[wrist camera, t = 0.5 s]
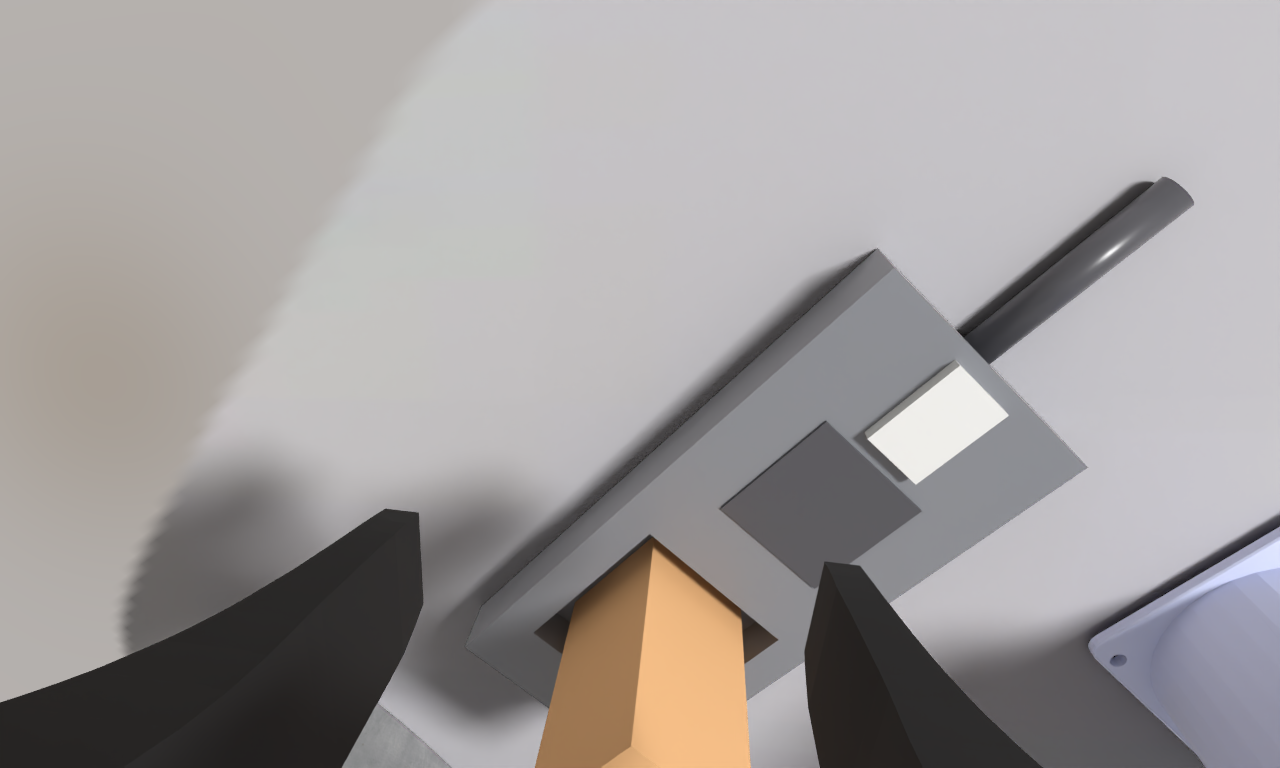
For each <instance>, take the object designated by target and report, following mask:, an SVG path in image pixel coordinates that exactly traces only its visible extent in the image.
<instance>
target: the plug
mask: <svg viewBox="0 0 1280 768" xmlns="http://www.w3.org/2000/svg"><path fill="white" fill-rule="evenodd" d="M535 768H751V766H750V750H749V734H748V717H747V701H746V685H745V668H744V652H743V636H742V620H741V609H740V608H739V607H738V606H737V605H736V604H734V603H733V602H732V601H731V600H729V599H728V598H727V597H726V596H725V595H723V594H722V593H721V592H720V591H719V590H717V589H716V588H715V587H714V586H712V585H711V584H710V583H709V582H708V581H706V580H705V579H704V578H703V577H701V576H700V575H699V574H698V573H697V572H695V571H694V570H693V569H692V568H691V567H689V566H688V565H687V564H686V563H684V562H683V561H682V560H681V559H680V558H678V557H677V556H676V555H675V554H673V553H672V552H671V551H670V550H669V549H667V548H666V547H665V546H664V545H663V544H661V543H660V542H659V541H658V540H656V539H655V538H654V537H652V538H651V539H650V540H649V541H647V542H646V543H645V544H644V545H643V546H641V547H640V548H639V549H638V550H637V551H635V552H634V553H633V554H632V555H631V556H630V557H628V558H627V559H626V560H625V561H624V562H622V563H621V564H620V565H619V566H618V567H617V568H615V569H614V570H613V571H612V572H611V573H609V574H608V575H607V576H606V577H605V578H603V579H602V580H601V581H600V582H599V583H598V584H596V585H595V586H594V587H593V588H592V589H590V590H589V591H588V592H587V593H586V594H585V595H583V596H582V597H581V598H580V599H579V600H577V601H576V602H575V604H574V608H573V612H572V617H571V621H570V625H569V629H568V633H567V637H566V641H565V645H564V650H563V654H562V658H561V662H560V666H559V670H558V674H557V678H556V683H555V687H554V691H553V695H552V699H551V703H550V707H549V711H548V716H547V720H546V724H545V728H544V732H543V736H542V740H541V744H540V749H539V753H538V757H537V761H536V765H535Z"/></svg>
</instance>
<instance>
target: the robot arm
mask: <svg viewBox="0 0 1280 768" xmlns="http://www.w3.org/2000/svg"><path fill="white" fill-rule="evenodd" d="M422 606H423V587H422V568H421V549H420V530H419V513H417V512H408V511H400V510H391V509H384V510H383V511H381V512H379V513H378V514H376V515H375V516H373V517H372V518H370V519H369V520H367V521H366V522H364V523H363V524H361V525H360V526H358V527H357V528H355V529H354V530H352V531H351V532H349V533H348V534H346V535H345V536H343V537H342V538H340V539H339V540H337V541H336V542H335V543H333V544H332V545H330V546H329V547H327V548H325V549H324V550H322V551H321V552H319V553H318V554H316V555H315V556H313V557H312V558H310V559H309V560H307V561H306V562H304V563H303V564H301V565H300V566H298V567H297V568H295V569H293V570H292V571H290V572H289V573H287V574H285V575H284V576H282V577H280V578H279V579H277V580H275V581H274V582H272V583H270V584H268V585H267V586H265V587H263V588H262V589H260V590H258V591H257V592H255V593H253V594H252V595H250V596H248V597H247V598H245V599H243V600H242V601H240V602H238V603H236V604H235V605H233V606H231V607H229V608H227V609H226V610H224V611H222V612H220V613H218V614H216V615H214V616H212V617H210V618H208V619H206V620H204V621H202V622H200V623H198V624H196V625H194V626H192V627H190V628H188V629H186V630H184V631H182V632H180V633H178V634H176V635H174V636H172V637H170V638H168V639H165V640H163V641H161V642H159V643H156V644H154V645H151V646H149V647H147V648H144V649H142V650H140V651H137V652H135V653H133V654H130V655H128V656H126V657H123V658H121V659H119V660H116V661H114V662H112V663H109V664H107V665H105V666H102V667H100V668H97V669H95V670H92V671H89V672H87V673H84V674H81V675H79V676H76V677H73V678H71V679H68V680H65V681H63V682H60V683H57V684H54V685H51V686H48V687H46V688H43V689H40V690H37V691H34V692H31V693H28V694H25V695H22V696H19V697H16V698H13V699H10V700H7V701H4V702H1V703H0V768H342V766H343V765H344V763H345V761H346V759H347V757H348V756H349V754H350V752H351V750H352V748H353V746H354V745H355V743H356V741H357V739H358V737H359V736H360V734H361V732H362V730H363V728H364V726H365V725H366V723H367V721H368V719H369V717H370V716H371V714H372V712H373V710H374V708H375V706H376V705H377V703H378V701H379V699H380V697H381V696H382V694H383V692H384V690H385V688H386V686H387V685H388V683H389V681H390V679H391V677H392V675H393V673H394V672H395V670H396V668H397V666H398V664H399V662H400V660H401V658H402V656H403V655H404V652H405V650H406V647H407V645H408V642H409V640H410V637H411V635H412V632H413V630H414V627H415V624H416V622H417V619H418V616H419V614H420V611H421V608H422ZM1088 649H1089V650H1090V652H1091V653H1092V655H1093V656H1094V658H1095V659H1096V660H1097V661H1098V662H1099V663H1100V664H1101V665H1102V666H1103V667H1104V668H1105V669H1106V670H1107V671H1108V672H1110V673H1111V674H1112V675H1113V676H1114V677H1115V678H1116V679H1117V680H1118V681H1119V682H1120V683H1121V684H1122V685H1123V686H1124V687H1125V688H1127V689H1128V690H1129V691H1130V692H1131V693H1132V694H1133V695H1134V696H1135V697H1136V698H1137V699H1138V700H1139V701H1140V702H1141V703H1142V704H1143V705H1145V706H1146V707H1147V708H1148V709H1149V710H1150V711H1151V712H1152V713H1153V714H1154V715H1155V716H1156V717H1157V718H1158V719H1159V720H1160V721H1162V722H1163V723H1164V724H1165V725H1166V726H1167V727H1168V728H1169V729H1170V730H1171V731H1172V732H1173V733H1174V734H1175V735H1176V736H1177V737H1178V738H1180V739H1181V740H1182V741H1183V742H1184V743H1185V744H1186V745H1187V746H1188V747H1189V748H1190V749H1191V750H1192V751H1193V752H1194V753H1195V754H1197V756H1198V757H1199V759H1200V760H1201V761H1202V763H1203V764H1204V766H1205V767H1206V768H1280V527H1278V528H1277V529H1275V530H1273V531H1271V532H1270V533H1268V534H1266V535H1265V536H1263V537H1261V538H1260V539H1258V540H1256V541H1255V542H1253V543H1251V544H1249V545H1248V546H1246V547H1244V548H1243V549H1241V550H1239V551H1238V552H1236V553H1234V554H1233V555H1231V556H1229V557H1228V558H1226V559H1224V560H1222V561H1221V562H1219V563H1217V564H1216V565H1214V566H1212V567H1211V568H1209V569H1207V570H1206V571H1204V572H1202V573H1200V574H1199V575H1197V576H1195V577H1194V578H1192V579H1190V580H1189V581H1187V582H1185V583H1184V584H1182V585H1180V586H1178V587H1177V588H1175V589H1173V590H1172V591H1170V592H1168V593H1167V594H1165V595H1163V596H1162V597H1160V598H1158V599H1157V600H1155V601H1153V602H1151V603H1150V604H1148V605H1146V606H1145V607H1143V608H1141V609H1140V610H1138V611H1136V612H1135V613H1133V614H1131V615H1129V616H1128V617H1126V618H1124V619H1123V620H1121V621H1119V622H1118V623H1116V624H1114V625H1113V626H1111V627H1109V628H1107V629H1106V630H1104V631H1102V632H1101V633H1099V634H1097V635H1096V636H1094V637H1093V638H1092V639H1091V640H1090V642H1089V644H1088ZM1115 655H1118V656H1117V657H1114V658H1112V657H1113V656H1115ZM804 656H805V671H806V685H807V697H808V708H809V713H810V719H811V724H812V729H813V734H814V739H815V744H816V750H817V755H818V760H819V765H820V768H1043V767H1041V766H1040V765H1039V764H1038V763H1037V762H1036V761H1035V760H1033V759H1032V758H1031V757H1030V756H1029V755H1028V754H1027V753H1025V752H1024V751H1023V750H1022V749H1021V748H1020V747H1019V746H1018V745H1017V744H1016V743H1015V742H1013V741H1012V740H1011V739H1010V738H1009V737H1008V736H1007V735H1006V734H1005V733H1004V732H1003V731H1002V730H1001V729H1000V728H999V727H998V726H996V725H995V724H994V723H993V722H992V721H991V720H990V719H989V718H988V717H987V716H986V715H985V714H984V713H983V712H982V711H981V710H980V709H979V708H978V707H977V706H976V705H975V704H974V703H973V702H972V701H971V700H970V699H969V698H968V697H967V695H966V694H965V693H964V692H963V691H962V690H961V689H960V688H959V687H958V686H957V685H956V684H955V682H954V681H953V680H952V679H951V678H950V677H949V676H948V675H947V674H946V673H945V672H944V670H943V669H942V668H941V667H940V666H939V665H938V664H937V662H936V661H935V660H934V659H933V658H932V657H931V655H930V654H929V653H928V652H927V651H926V649H925V648H924V647H923V646H922V645H921V643H920V642H919V641H918V640H917V639H916V637H915V636H914V635H913V634H912V632H911V631H910V630H909V629H908V627H907V626H906V625H905V624H904V622H903V621H902V620H901V618H900V617H899V616H898V615H897V613H896V612H895V611H894V609H893V608H892V607H891V605H890V604H889V603H888V602H887V600H886V599H885V598H884V596H883V595H882V594H881V592H880V591H879V590H878V588H877V587H876V586H875V584H874V583H873V582H872V580H871V579H870V578H869V577H868V575H867V574H866V573H865V571H864V570H863V569H862V567H861V566H859V565H851V564H843V563H834V562H826V561H825V562H824V566H823V570H822V575H821V579H820V584H819V588H818V593H817V597H816V601H815V606H814V610H813V615H812V619H811V623H810V628H809V632H808V637H807V641H806V646H805V650H804Z"/></svg>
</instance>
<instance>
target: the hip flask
mask: <svg viewBox="0 0 1280 768" xmlns="http://www.w3.org/2000/svg"><path fill="white" fill-rule="evenodd" d="M342 768H451V767H450V766H449V765H448V764H447V763H446V762H445V761H444V760H442V759H441V758H440V757H439V756H438V755H437V754H436V753H435V752H434V751H433V750H432V749H431V748H429V747H428V746H427V745H426V744H425V743H424V742H423V741H422V740H421V739H420V738H418V737H417V736H416V735H415V734H414V733H413V732H411V731H410V730H409V729H408V728H407V727H406V726H405V725H403V724H402V723H401V722H400V721H399V720H397V719H396V718H395V717H394V716H392V715H391V714H390V713H389V712H387V711H386V710H385V709H384V708H383V707H381V706H380V705H379V704H378V703H377V705H376V706H375V708H374V710H373V712H372V714H371V716H370V717H369V719H368V721H367V723H366V725H365V726H364V728H363V730H362V732H361V734H360V736H359V737H358V739H357V741H356V743H355V745H354V746H353V748H352V750H351V752H350V754H349V756H348V757H347V759H346V761H345V763H344V765H343V766H342Z"/></svg>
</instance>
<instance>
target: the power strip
mask: <svg viewBox="0 0 1280 768" xmlns="http://www.w3.org/2000/svg"><path fill="white" fill-rule="evenodd" d="M1193 205H1194V201H1193V199H1192V198H1191V196H1190V195H1189V194H1188V193H1187V191H1186V190H1185V189H1183V188H1182V187H1181V186H1180V185H1179V184H1177V183H1176V182H1175V181H1173V180H1171V179H1169V178H1167V177H1162V178H1161V179H1159V180H1158V181H1157V182H1156V183H1154V184H1153V185H1152V186H1151V187H1149V188H1148V189H1147V190H1146V191H1145V192H1143V193H1142V194H1141V195H1140V196H1138V197H1137V198H1136V199H1135V200H1133V201H1132V202H1131V203H1130V204H1128V205H1127V206H1126V207H1125V208H1123V209H1122V210H1121V211H1120V212H1119V213H1117V214H1116V215H1115V216H1114V217H1112V218H1111V219H1110V220H1109V221H1107V222H1106V223H1105V224H1104V225H1102V226H1101V227H1100V228H1099V229H1097V230H1096V231H1095V232H1094V233H1093V234H1091V235H1090V236H1089V237H1088V238H1086V239H1085V240H1084V241H1083V242H1081V243H1080V244H1079V245H1078V246H1076V247H1075V248H1074V249H1073V250H1071V251H1070V252H1069V253H1068V254H1067V255H1065V256H1064V257H1063V258H1062V259H1060V260H1059V261H1058V262H1057V263H1055V264H1054V265H1053V266H1052V267H1050V268H1049V269H1048V270H1047V271H1045V272H1044V273H1043V274H1042V275H1041V276H1039V277H1038V278H1037V279H1036V280H1034V281H1033V282H1032V283H1031V284H1029V285H1028V286H1027V287H1026V288H1024V289H1023V290H1022V291H1021V292H1019V293H1018V294H1017V295H1016V296H1015V297H1013V298H1012V299H1011V300H1010V301H1008V302H1007V303H1006V304H1005V305H1003V306H1002V307H1001V308H1000V309H998V310H997V311H996V312H995V313H993V314H992V315H991V316H990V317H989V318H987V319H986V320H985V321H984V322H982V323H981V324H980V325H979V326H977V327H976V328H975V329H974V330H972V331H971V332H970V333H969V334H967V335H966V336H965V337H963V336H962V335H961V334H960V333H959V332H958V331H957V330H956V329H955V328H954V327H953V326H952V325H951V324H950V323H949V322H948V321H947V320H946V319H945V318H944V317H943V316H942V315H941V314H940V313H939V311H938V310H937V309H936V308H935V307H934V306H933V305H932V304H931V303H930V302H929V301H928V300H927V299H926V298H925V297H924V296H923V295H922V294H921V293H920V292H919V291H918V290H917V289H916V288H915V287H914V286H913V285H912V283H911V282H910V281H909V280H908V279H907V278H906V277H905V276H904V275H903V274H902V273H901V272H900V271H899V270H898V269H897V268H896V267H895V266H894V265H893V264H892V263H891V262H890V261H889V260H888V259H887V258H886V257H885V256H884V254H883V253H882V252H881V251H880V250H879V249H878V248H877V249H876V250H875V251H874V252H873V253H872V254H871V255H870V256H868V257H867V258H866V259H865V260H864V261H863V262H862V263H861V264H860V265H858V266H857V267H856V268H855V269H854V270H853V271H852V272H851V273H850V274H849V275H847V276H846V277H845V278H844V279H843V280H842V281H841V282H840V283H839V284H837V285H836V286H835V287H834V288H833V289H832V290H831V291H830V292H829V293H827V294H826V295H825V296H824V297H823V298H822V299H821V300H820V301H819V302H818V303H816V304H815V305H814V306H813V307H812V308H811V309H810V310H809V311H808V312H806V313H805V314H804V315H803V316H802V317H801V318H800V319H799V320H798V321H797V322H795V323H794V324H793V325H792V326H791V327H790V328H789V329H788V330H787V331H785V332H784V333H783V334H782V335H781V336H780V337H779V338H778V339H777V340H775V341H774V342H773V343H772V344H771V345H770V346H769V347H768V348H767V349H766V350H764V351H763V352H762V353H761V354H760V355H759V356H758V357H757V358H756V359H754V360H753V361H752V362H751V363H750V364H749V365H748V366H747V367H746V368H745V369H743V370H742V371H741V372H740V373H739V374H738V375H737V376H736V377H735V378H733V379H732V380H731V381H730V382H729V383H728V384H727V385H726V386H725V387H724V388H722V389H721V390H720V391H719V392H718V393H717V394H716V395H715V396H714V397H712V398H711V399H710V400H709V401H708V402H707V403H706V404H705V405H704V406H702V407H701V408H700V409H699V410H698V411H697V412H696V413H695V414H694V415H693V416H691V417H690V418H689V419H688V420H687V421H686V422H685V423H684V424H683V425H681V426H680V427H679V428H678V429H677V430H676V431H675V432H674V433H673V434H672V435H670V436H669V437H668V438H667V439H666V440H665V441H664V442H663V443H662V444H660V445H659V446H658V447H657V448H656V449H655V450H654V451H653V452H652V453H650V454H649V455H648V456H647V457H646V458H645V459H644V460H643V461H642V462H641V463H639V464H638V465H637V466H636V467H635V468H634V469H633V470H632V471H631V472H629V473H628V474H627V475H626V476H625V477H624V478H623V479H622V480H621V481H620V482H618V483H617V484H616V485H615V486H614V487H613V488H612V489H611V490H610V491H608V492H607V493H606V494H605V495H604V496H603V497H602V498H601V499H600V500H598V501H597V502H596V503H595V504H594V505H593V506H592V507H591V508H590V509H589V510H587V511H586V512H585V513H584V514H583V515H582V516H581V517H580V518H579V519H577V520H576V521H575V522H574V523H573V524H572V525H571V526H570V527H569V528H568V529H566V530H565V531H564V532H563V533H562V534H561V535H560V536H559V537H558V538H556V539H555V540H554V541H553V542H552V543H551V544H550V545H549V546H548V547H547V548H545V549H544V550H543V551H542V552H541V553H540V554H539V555H538V556H537V557H535V558H534V559H533V560H532V561H531V562H530V563H529V564H528V565H527V566H525V567H524V568H523V569H522V570H521V571H520V572H519V573H518V574H517V575H516V576H514V577H513V578H512V579H511V580H510V581H509V582H508V583H507V584H506V585H504V586H503V587H502V588H501V589H500V590H499V591H498V592H497V593H496V594H495V595H493V596H492V597H491V598H490V599H489V600H488V601H487V602H486V603H485V604H483V605H482V606H481V608H480V611H479V613H478V616H477V618H476V621H475V623H474V625H473V628H472V630H471V633H470V635H469V638H468V640H467V642H466V645H465V648H466V649H468V650H469V651H470V652H472V653H473V654H475V655H476V656H477V657H479V658H480V659H481V660H483V661H484V662H486V663H487V664H488V665H490V666H491V667H493V668H494V669H495V670H497V671H498V672H499V673H501V674H502V675H504V676H505V677H506V678H508V679H509V680H511V681H512V682H513V683H515V684H516V685H518V686H519V687H520V688H522V689H523V690H524V691H526V692H527V693H529V694H530V695H531V696H533V697H534V698H536V699H537V700H538V701H540V702H541V703H543V704H544V705H545V706H547V707H548V708H549V707H550V703H551V699H552V695H553V691H554V687H555V683H556V678H557V674H558V670H559V666H560V662H561V658H562V654H563V650H564V645H565V641H566V637H567V633H568V629H569V625H570V621H571V617H572V612H573V608H574V604H575V602H576V601H577V600H579V599H580V598H581V597H582V596H583V595H585V594H586V593H587V592H588V591H589V590H590V589H592V588H593V587H594V586H595V585H596V584H598V583H599V582H600V581H601V580H602V579H603V578H605V577H606V576H607V575H608V574H609V573H611V572H612V571H613V570H614V569H615V568H617V567H618V566H619V565H620V564H621V563H622V562H624V561H625V560H626V559H627V558H628V557H630V556H631V555H632V554H633V553H634V552H635V551H637V550H638V549H639V548H640V547H641V546H643V545H644V544H645V543H646V542H647V541H649V540H650V539H651V538H652V537H654V538H655V539H656V540H658V541H659V542H660V543H661V544H663V545H664V546H665V547H666V548H667V549H669V550H670V551H671V552H672V553H673V554H675V555H676V556H677V557H678V558H680V559H681V560H682V561H683V562H684V563H686V564H687V565H688V566H689V567H691V568H692V569H693V570H694V571H695V572H697V573H698V574H699V575H700V576H701V577H703V578H704V579H705V580H706V581H708V582H709V583H710V584H711V585H712V586H714V587H715V588H716V589H717V590H719V591H720V592H721V593H722V594H723V595H725V596H726V597H727V598H728V599H729V600H731V601H732V602H733V603H734V604H736V605H737V606H738V607H739V608H740V609H741V620H742V636H743V652H744V668H745V685H746V701H747V700H749V699H750V698H752V697H753V696H754V695H756V694H757V693H759V692H760V691H762V690H763V689H765V688H766V687H768V686H769V685H771V684H772V683H773V682H775V681H776V680H778V679H779V678H781V677H782V676H784V675H785V674H787V673H788V672H790V671H791V670H792V669H794V668H795V667H797V666H798V665H800V664H801V663H803V662H804V661H805V656H804V650H805V646H806V641H807V637H808V632H809V628H810V623H811V619H812V615H813V610H814V606H815V601H816V597H817V593H818V588H819V584H820V579H821V575H822V570H823V566H824V562H825V561H826V562H834V563H843V564H851V565H859V566H861V567H862V569H863V570H864V571H865V573H866V574H867V575H868V577H869V578H870V579H871V580H872V582H873V583H874V584H875V586H876V587H877V588H878V590H879V591H880V592H881V594H882V595H883V596H884V598H885V599H886V600H887V602H888V603H890V602H892V601H893V600H895V599H896V598H898V597H899V596H901V595H902V594H904V593H905V592H906V591H908V590H909V589H911V588H912V587H914V586H915V585H917V584H918V583H920V582H921V581H923V580H924V579H925V578H927V577H928V576H930V575H931V574H933V573H934V572H936V571H937V570H939V569H940V568H942V567H943V566H944V565H946V564H947V563H949V562H950V561H952V560H953V559H955V558H956V557H958V556H959V555H961V554H962V553H963V552H965V551H966V550H968V549H969V548H971V547H972V546H974V545H975V544H977V543H978V542H980V541H981V540H982V539H984V538H985V537H987V536H988V535H990V534H991V533H993V532H994V531H996V530H997V529H999V528H1000V527H1001V526H1003V525H1004V524H1006V523H1007V522H1009V521H1010V520H1012V519H1013V518H1015V517H1016V516H1018V515H1019V514H1020V513H1022V512H1023V511H1025V510H1026V509H1028V508H1029V507H1031V506H1032V505H1034V504H1035V503H1037V502H1038V501H1039V500H1041V499H1042V498H1044V497H1045V496H1047V495H1048V494H1050V493H1051V492H1053V491H1054V490H1056V489H1057V488H1058V487H1060V486H1061V485H1063V484H1064V483H1066V482H1067V481H1069V480H1070V479H1072V478H1073V477H1075V476H1076V475H1077V474H1079V473H1080V472H1082V471H1083V470H1085V469H1086V468H1088V467H1087V466H1086V465H1085V464H1084V463H1083V462H1082V461H1081V460H1080V458H1079V457H1078V456H1077V455H1076V454H1075V453H1074V452H1073V451H1072V450H1071V449H1070V448H1069V447H1068V446H1067V445H1066V443H1065V442H1064V441H1063V440H1062V439H1061V438H1060V437H1059V436H1058V435H1057V434H1056V433H1055V432H1054V431H1053V430H1052V429H1051V428H1050V426H1049V425H1048V424H1047V423H1046V422H1045V421H1044V420H1043V419H1042V418H1041V417H1040V416H1039V415H1038V414H1037V413H1036V412H1035V411H1034V410H1033V409H1032V408H1031V407H1030V406H1029V405H1028V404H1027V403H1026V402H1025V401H1024V400H1023V398H1022V397H1021V396H1020V395H1019V394H1018V393H1017V392H1016V391H1015V390H1014V389H1013V388H1012V387H1011V386H1010V385H1009V384H1008V383H1007V382H1006V381H1005V380H1004V379H1003V378H1002V377H1001V376H1000V375H999V374H998V373H997V372H996V371H995V369H994V368H993V367H992V366H991V365H990V364H991V363H992V362H993V361H994V360H996V359H997V358H998V357H1000V356H1001V355H1002V354H1003V353H1005V352H1006V351H1007V350H1009V349H1010V348H1011V347H1012V346H1014V345H1015V344H1016V343H1017V342H1019V341H1020V340H1021V339H1023V338H1024V337H1025V336H1026V335H1028V334H1029V333H1030V332H1032V331H1033V330H1034V329H1035V328H1037V327H1038V326H1039V325H1041V324H1042V323H1043V322H1044V321H1046V320H1047V319H1048V318H1050V317H1051V316H1052V315H1053V314H1055V313H1056V312H1057V311H1058V310H1060V309H1061V308H1062V307H1064V306H1065V305H1066V304H1067V303H1069V302H1070V301H1071V300H1073V299H1074V298H1075V297H1076V296H1078V295H1079V294H1080V293H1082V292H1083V291H1084V290H1085V289H1087V288H1088V287H1089V286H1091V285H1092V284H1093V283H1094V282H1096V281H1097V280H1098V279H1099V278H1101V277H1102V276H1103V275H1105V274H1106V273H1107V272H1108V271H1110V270H1111V269H1112V268H1114V267H1115V266H1116V265H1117V264H1119V263H1120V262H1121V261H1123V260H1124V259H1125V258H1126V257H1128V256H1129V255H1130V254H1131V253H1133V252H1134V251H1135V250H1137V249H1138V248H1139V247H1140V246H1142V245H1143V244H1144V243H1146V242H1147V241H1148V240H1149V239H1151V238H1152V237H1153V236H1155V235H1156V234H1157V233H1158V232H1160V231H1161V230H1162V229H1164V228H1165V227H1166V226H1167V225H1169V224H1170V223H1171V222H1172V221H1174V220H1175V219H1176V218H1178V217H1179V216H1180V215H1181V214H1183V213H1184V212H1185V211H1187V210H1188V209H1189V208H1190V207H1192V206H1193Z"/></svg>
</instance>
